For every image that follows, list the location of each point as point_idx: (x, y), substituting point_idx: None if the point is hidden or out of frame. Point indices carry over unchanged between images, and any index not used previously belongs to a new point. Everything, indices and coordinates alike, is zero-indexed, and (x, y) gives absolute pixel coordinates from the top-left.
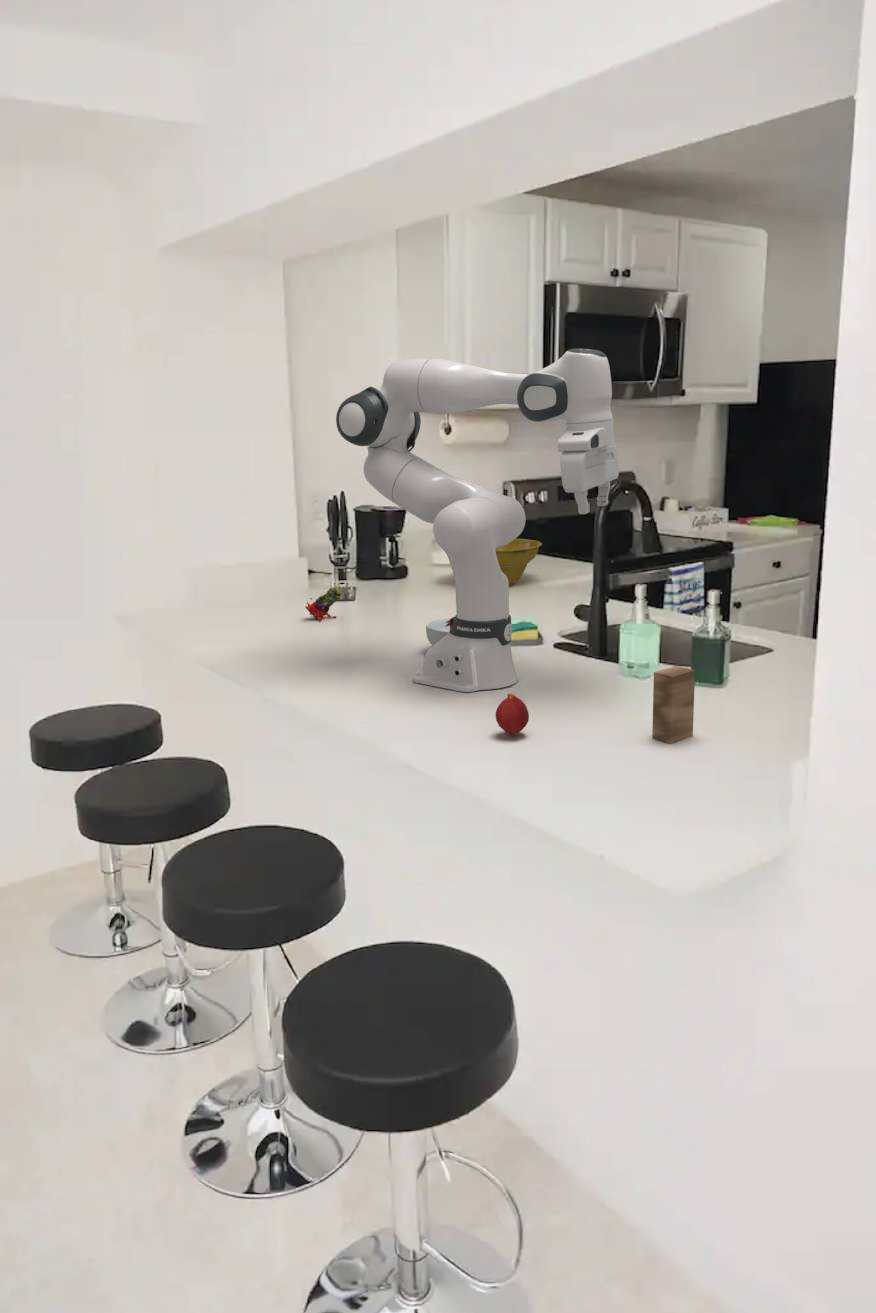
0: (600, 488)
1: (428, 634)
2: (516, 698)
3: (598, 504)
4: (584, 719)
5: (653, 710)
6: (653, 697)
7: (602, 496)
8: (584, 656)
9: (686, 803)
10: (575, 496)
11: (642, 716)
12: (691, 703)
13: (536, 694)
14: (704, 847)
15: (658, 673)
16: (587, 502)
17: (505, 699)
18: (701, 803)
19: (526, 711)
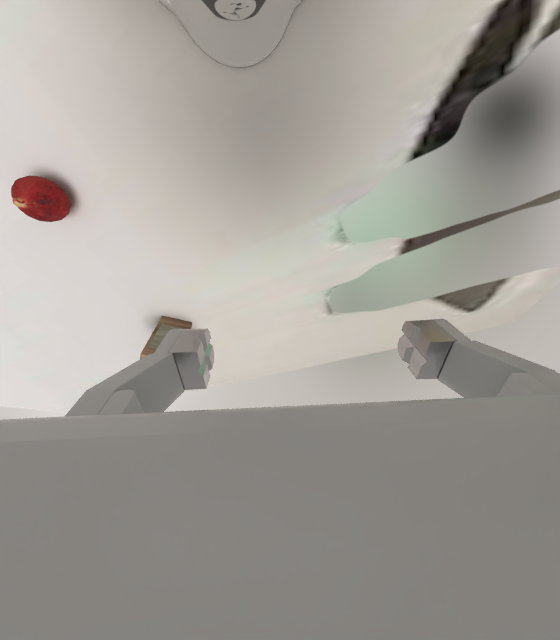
0: (507, 375)
1: None
2: (28, 210)
3: (407, 326)
4: (167, 243)
5: (154, 330)
6: (150, 337)
7: (443, 361)
8: (434, 107)
9: (67, 373)
10: (88, 397)
11: (212, 287)
12: None
13: (216, 136)
14: (23, 397)
15: (140, 358)
16: (172, 398)
17: (15, 194)
18: (76, 378)
19: (49, 221)
